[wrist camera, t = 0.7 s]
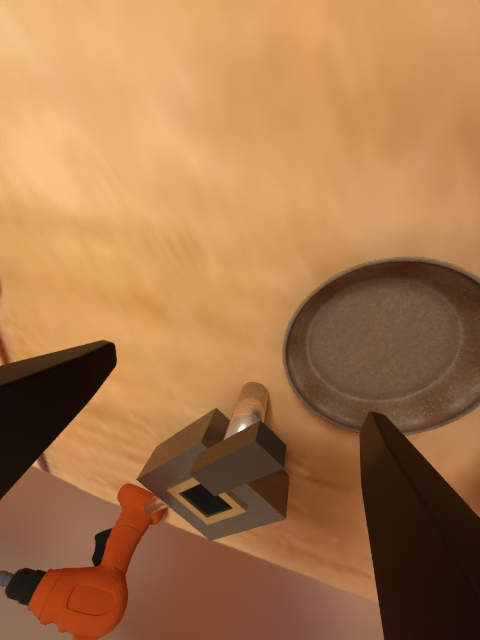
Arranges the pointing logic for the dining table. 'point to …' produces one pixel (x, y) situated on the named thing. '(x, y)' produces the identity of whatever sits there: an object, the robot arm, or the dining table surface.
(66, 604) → the toy drill
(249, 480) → the block
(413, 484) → the robot arm
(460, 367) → the saucer
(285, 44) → the dining table surface
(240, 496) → the block
